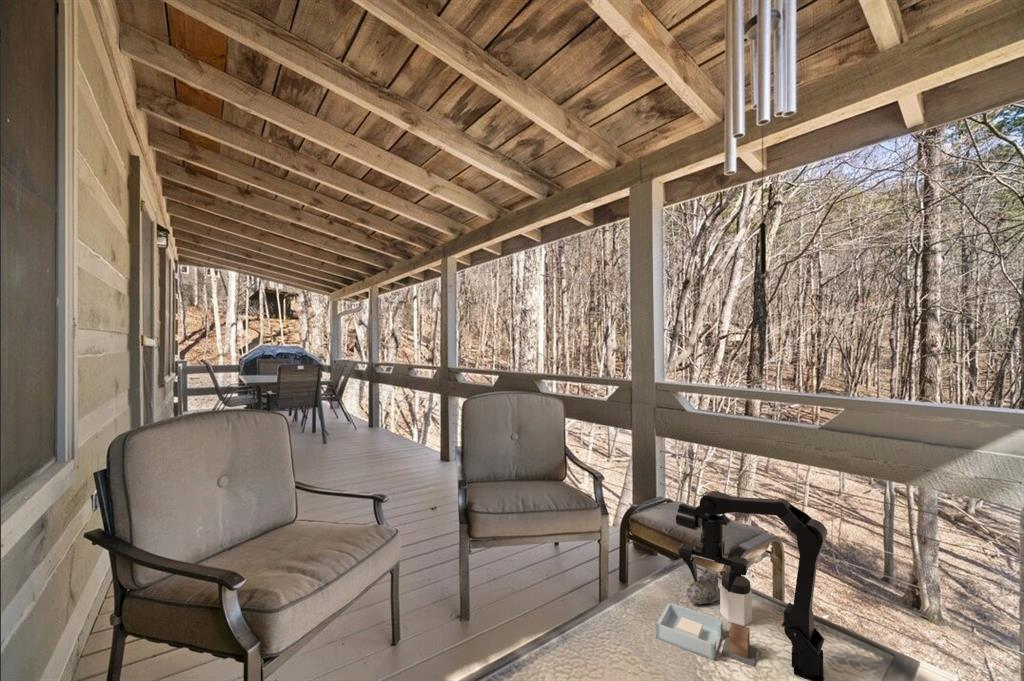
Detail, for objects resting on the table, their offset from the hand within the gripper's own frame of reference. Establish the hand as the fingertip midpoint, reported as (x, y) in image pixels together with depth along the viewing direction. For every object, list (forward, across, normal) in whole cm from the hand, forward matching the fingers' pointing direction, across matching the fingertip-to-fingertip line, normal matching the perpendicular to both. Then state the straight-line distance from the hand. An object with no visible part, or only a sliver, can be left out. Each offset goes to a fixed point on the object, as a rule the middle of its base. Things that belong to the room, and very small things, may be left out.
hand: (712, 586), depth 130 cm
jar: (+13, -5, -11) cm, 18 cm away
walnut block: (+13, -8, +6) cm, 16 cm away
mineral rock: (+13, +6, -16) cm, 21 cm away
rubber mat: (+13, -8, +6) cm, 16 cm away
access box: (+13, +5, +7) cm, 16 cm away
